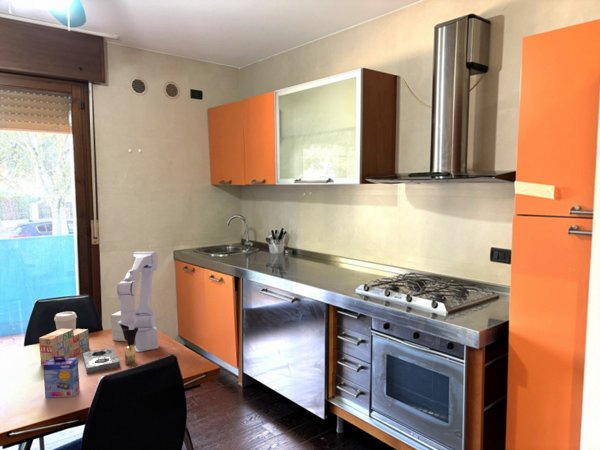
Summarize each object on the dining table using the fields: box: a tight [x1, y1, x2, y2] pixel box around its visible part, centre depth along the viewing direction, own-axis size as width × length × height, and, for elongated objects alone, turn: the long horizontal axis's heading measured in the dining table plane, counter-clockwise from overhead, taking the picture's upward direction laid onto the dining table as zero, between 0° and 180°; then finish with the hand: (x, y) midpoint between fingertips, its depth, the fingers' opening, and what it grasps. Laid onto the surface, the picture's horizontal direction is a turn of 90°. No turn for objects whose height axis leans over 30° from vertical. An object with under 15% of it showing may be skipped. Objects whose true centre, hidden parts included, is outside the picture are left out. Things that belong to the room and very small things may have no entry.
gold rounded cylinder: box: [124, 344, 136, 366], centre depth 182 cm, size 4×4×7 cm
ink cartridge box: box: [42, 356, 81, 399], centre depth 155 cm, size 10×6×14 cm, turn 95°
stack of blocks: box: [38, 328, 90, 367], centre depth 190 cm, size 21×6×12 cm, turn 166°
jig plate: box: [82, 347, 121, 375], centre depth 183 cm, size 12×19×2 cm, turn 30°
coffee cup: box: [53, 311, 78, 331], centre depth 205 cm, size 10×10×15 cm
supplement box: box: [110, 310, 127, 342], centre depth 213 cm, size 7×7×13 cm
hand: (129, 342), depth 182 cm, fingers open, 7 cm apart
